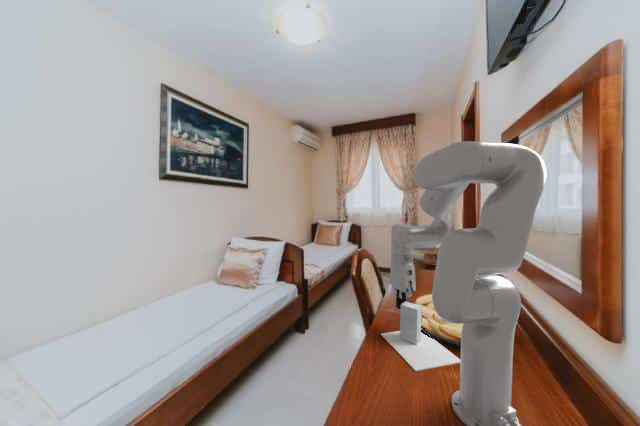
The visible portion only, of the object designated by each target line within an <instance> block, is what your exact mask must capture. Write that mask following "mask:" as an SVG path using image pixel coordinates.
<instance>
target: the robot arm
mask: <svg viewBox="0 0 640 426" xmlns="http://www.w3.org/2000/svg"><path fill="white" fill-rule="evenodd" d="M413 181H414V183H415V185H416V186H417V187H418V188H419V189H422V190H424V192H423V194H422V196H421V197H420V198H419V206H420V208H421V209H422V211H423V212H424V213H426V214H427V215H428V216H430V217H432V218H434V219H433V221H432V222H431V224H430V225H410V224H405V223H402V224H401V223H400V224H399V223H398V224H393V225H392V226H391V235H390V236H391V240H390V241H391V246H390V247H391V249H390V250H391V251H390V252H391V253H390V254H391V255H390V258H391V260H390V273H389V284H390V285H391V287H392V288H393V290H394V293H395V294H394V295H395V307H396V308H397V309H399V310H400V305H401V304H402V303H404V302H405V301H406V302H407V299H408V298H411V297H412V296H413V294H412V292H413V293H414V292H416V289H417V286H416V285H417V282H416V270H415V269H416V268H415V265H414V249H415V250H416V249H430V248H431V249H433V248H436V247H437V246H439V247H438V252H437V258H436V265H435V270H434V274H433V275H434V276H433V283H432V289H431V299H432V300H431V301H432V304H433V308H434V310H435V313H436V314H437V315H438V317H440V319H442V320H443V321H445V322H446V323H450V324H455V325H458V324H460V325H462V324H463V325H462V329H461V336H460V360H461V362H460V363H459V365H460V366H459V369H460V370H459V371H460V373H459V389H458V390H456V391H455V392H453V394H452V396H451V406H452V409H453V412H454V413H455V415H456V416H457V417H458V418H459V420H460V421H461V422H463V424H464V425H465V426H523V425H522V424H520V421H519V418H518V417H517V410H516V409H515V408H513V406H512V390H513V389H512V387H513V363H514V362H513V361H514V360H513V359H514V358H513V357H514V344H515V343H514V341H515V333H516V326H517V324H518V321H519V317H520V313H521V307H522V299H521V295H520V292H519V290H518V288H517V286H515V284H513V282H511V281H510V280H509V279H507V278H505V277H503V276H500V275H503V274H509V273H513V272H515V271H517V270H518V269H519V268H520V267H521V265H522V264H523V260H524V257H525V255H526V250H527V246H528V243H529V239H530V235H531V231H532V228H533V222H534V217H535V214H536V210H537V208H538V204H539V202H540V199H541V197H542V194H543V192H544V189H545V185H546V181H547V168H546V165H545V162H544V160H543V159H542V157H541V156H540V155H539V154H538V153H537V152H536V151H534V150H533V149H531V148H529V147H527V146H523V145H520V144H514V143H508V142H487V141H472V140H470V141H468V140H467V141H458V142H453V143H451V144H449V145H447V146H444V147H442V148H440V149H438V150H435V151H433V152H431V153H429V154H427V155H425V156H424V157H423V158H421V159H420V160H419V162H418V163H417V164H416V166H415V169H414V172H413ZM470 184H494V185H495V188H494V189H493V190H492V191H491V192H490V193H489V195H488V196H487V198H486V199H485V201H484V202H483V205H482V207H481V211H480V216H479V217H480V218H479V221H478V224H477V226H476V227H473V228H472V227H468V228H459V229H455V230H452V231H451V228H452V227H451V226H452V225H451V223H452V220H451V215H450V211H451V210H452V209H453V207H454V206H455V204H456V203H457V202H458V201H459V199H460V197H461V196H462V194H463V193H464V192H465V190H467V188H468V186H469V185H470Z"/></svg>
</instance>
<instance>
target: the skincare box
mask: <svg viewBox="0 0 640 426" xmlns="http://www.w3.org/2000/svg"><path fill="white" fill-rule="evenodd" d="M422 308H423V306H422V305H420V304H415V303H413V302H408V301H407V300H406V301H405V302H404V303H402V304H401V305H400V309H399V310H400V312H399V313H400V317H399V320H400V321H399V324H400V325H399V328H400V329H399V331H400V338H401V339H403V340H406V341H408V342H411V343H413V344H416V345H417V344H418V343H419V342H420V341H421V330H422V328H421V326H422V311H423V309H422Z"/></svg>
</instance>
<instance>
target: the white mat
mask: <svg viewBox="0 0 640 426" xmlns="http://www.w3.org/2000/svg"><path fill="white" fill-rule="evenodd" d="M380 336H382V337H383V339H385V341H386V342H387V343H388V344H389V345H390V346H391V348H393V349H394V350H395V351H396V353H398V354H399V356H400V357H402V359H403V360H404V361H405V362H406V363H407V364H408V365H409V366H410V368H412V370H413V371H414V372H420V371H422V372H423V371H425V370H426V371H427V370H432V369H437V368H442V367H447V366H452V365H456V364H457V365H459V364H460V362H461V358H459V357H458V356H456V355H455V354H454V353H453V352H451V351H450V350H448V348H446V347H445V346H443V345H442V344H441V343H439V342H438V341H437V340H436V339H434V338H433V337H432V338H433V339H432V338H430V337H431V336H430V337H428V336H427V335H425V334H423V333H422V332H421V341H420V342H419V343H418V344H417V345H416V344H413V343H411V342H408V341H406V340H403V339H401V338H400V330H396V331H389V332H384V333H383V332H382V333H380Z"/></svg>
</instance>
